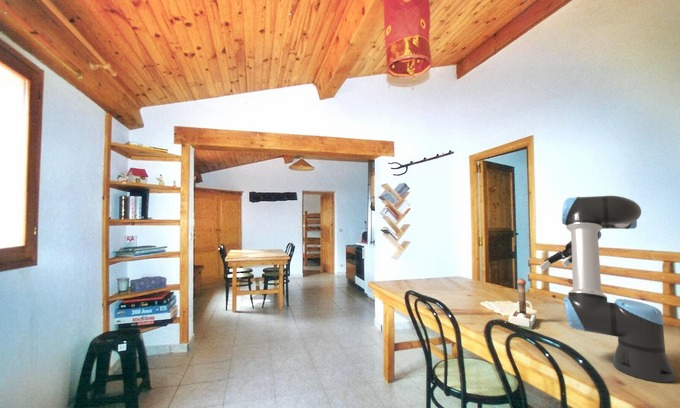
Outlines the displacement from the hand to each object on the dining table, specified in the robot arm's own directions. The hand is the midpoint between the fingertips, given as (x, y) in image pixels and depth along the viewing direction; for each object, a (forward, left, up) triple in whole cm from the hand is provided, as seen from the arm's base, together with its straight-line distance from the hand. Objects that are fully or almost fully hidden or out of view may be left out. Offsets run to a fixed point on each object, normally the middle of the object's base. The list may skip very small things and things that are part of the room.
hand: (552, 267), depth 150 cm
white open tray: (0, +14, -29) cm, 32 cm away
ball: (-3, +14, -26) cm, 30 cm away
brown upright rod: (+1, +14, -28) cm, 31 cm away
